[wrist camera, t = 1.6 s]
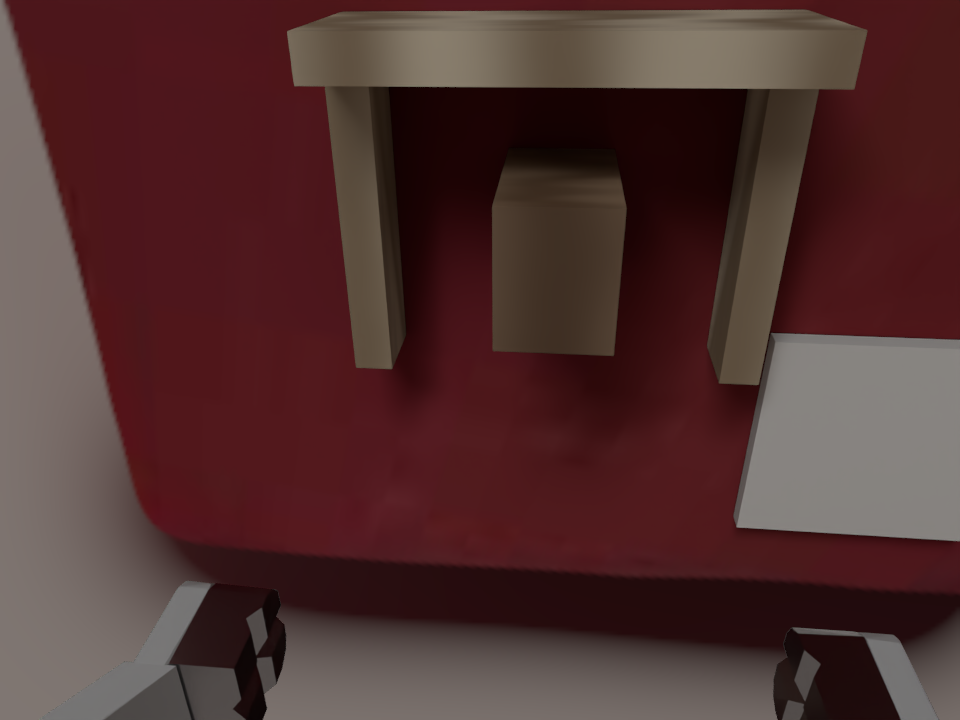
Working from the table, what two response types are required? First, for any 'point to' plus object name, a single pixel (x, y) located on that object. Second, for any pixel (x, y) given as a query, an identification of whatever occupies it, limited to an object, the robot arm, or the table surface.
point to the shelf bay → (578, 64)
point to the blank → (557, 251)
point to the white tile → (855, 438)
